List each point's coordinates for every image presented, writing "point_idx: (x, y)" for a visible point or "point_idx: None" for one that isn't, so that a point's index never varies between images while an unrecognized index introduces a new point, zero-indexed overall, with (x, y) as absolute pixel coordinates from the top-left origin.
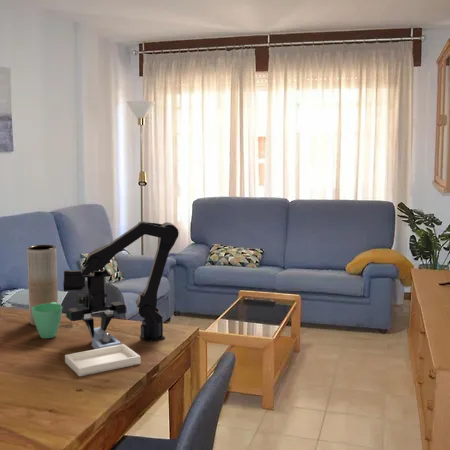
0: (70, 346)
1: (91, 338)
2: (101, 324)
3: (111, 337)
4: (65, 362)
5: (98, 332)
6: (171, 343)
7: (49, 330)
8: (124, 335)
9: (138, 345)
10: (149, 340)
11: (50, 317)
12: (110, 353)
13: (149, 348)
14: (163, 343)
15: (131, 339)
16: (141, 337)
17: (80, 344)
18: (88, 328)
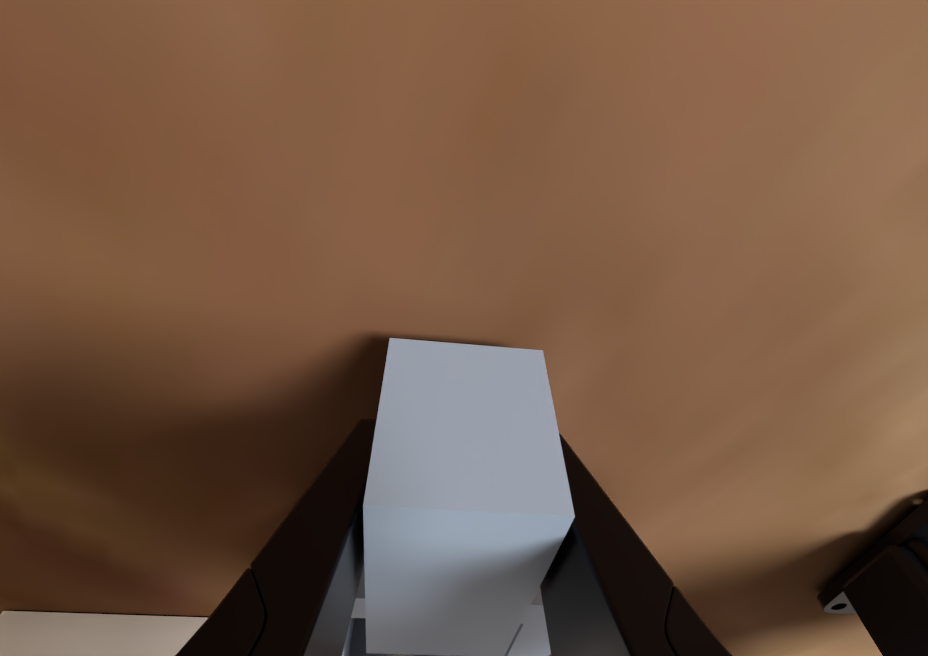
0: (34, 339)
1: (389, 346)
2: (598, 612)
3: (524, 631)
4: (4, 617)
5: (408, 623)
6: (880, 653)
7: None
8: (899, 367)
9: (695, 603)
10: (832, 610)
11: None
12: None
13: None
14: (851, 638)
15: (799, 498)
16: (899, 524)
17: (197, 346)
18: (267, 562)
